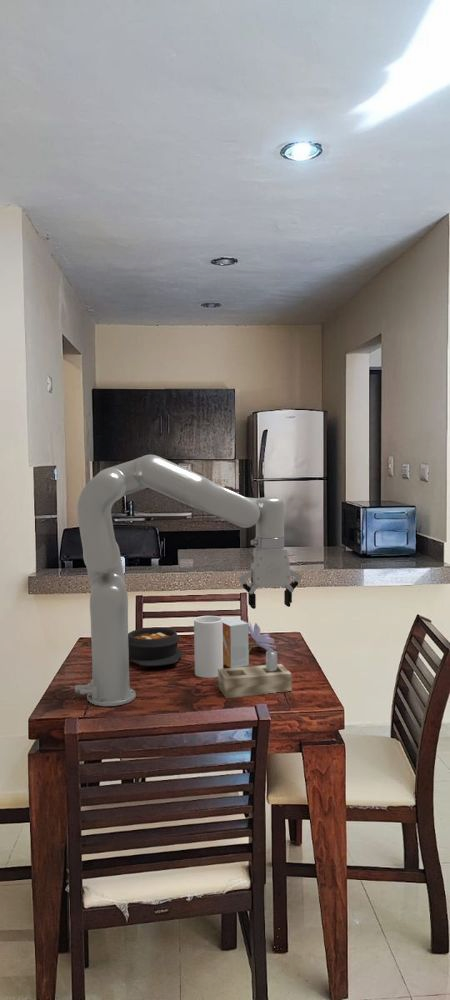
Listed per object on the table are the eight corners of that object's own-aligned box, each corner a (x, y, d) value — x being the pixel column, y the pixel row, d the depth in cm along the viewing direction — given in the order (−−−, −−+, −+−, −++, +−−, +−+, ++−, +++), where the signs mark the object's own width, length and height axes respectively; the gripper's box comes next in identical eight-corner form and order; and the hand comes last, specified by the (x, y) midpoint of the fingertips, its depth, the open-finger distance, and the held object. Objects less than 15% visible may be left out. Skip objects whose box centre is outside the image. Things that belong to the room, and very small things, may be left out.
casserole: (191, 668, 217) (191, 640, 217) (129, 675, 212) (128, 646, 211) (173, 646, 241) (173, 621, 241) (116, 651, 236) (116, 626, 235)
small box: (218, 662, 223) (217, 619, 222) (236, 659, 226) (235, 617, 225) (230, 669, 216) (230, 625, 215) (249, 665, 219) (248, 622, 218)
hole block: (225, 698, 191) (225, 679, 191) (218, 687, 200) (218, 669, 200) (291, 691, 195) (291, 673, 195) (281, 681, 204) (281, 663, 204)
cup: (189, 674, 211) (188, 620, 210) (205, 667, 218) (204, 614, 217) (212, 679, 207) (211, 623, 205) (228, 671, 213) (227, 617, 212)
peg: (268, 690, 197) (267, 653, 196) (264, 686, 200) (264, 650, 199) (278, 689, 198) (278, 653, 197) (275, 685, 201) (275, 649, 200)
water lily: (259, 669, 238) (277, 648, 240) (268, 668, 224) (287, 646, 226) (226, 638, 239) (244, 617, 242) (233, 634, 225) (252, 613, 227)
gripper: (242, 546, 190) (242, 611, 192) (305, 544, 194) (305, 608, 196) (235, 542, 198) (235, 605, 199) (296, 540, 202) (296, 602, 203)
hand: (270, 606), depth 197 cm, fingers open, 9 cm apart
